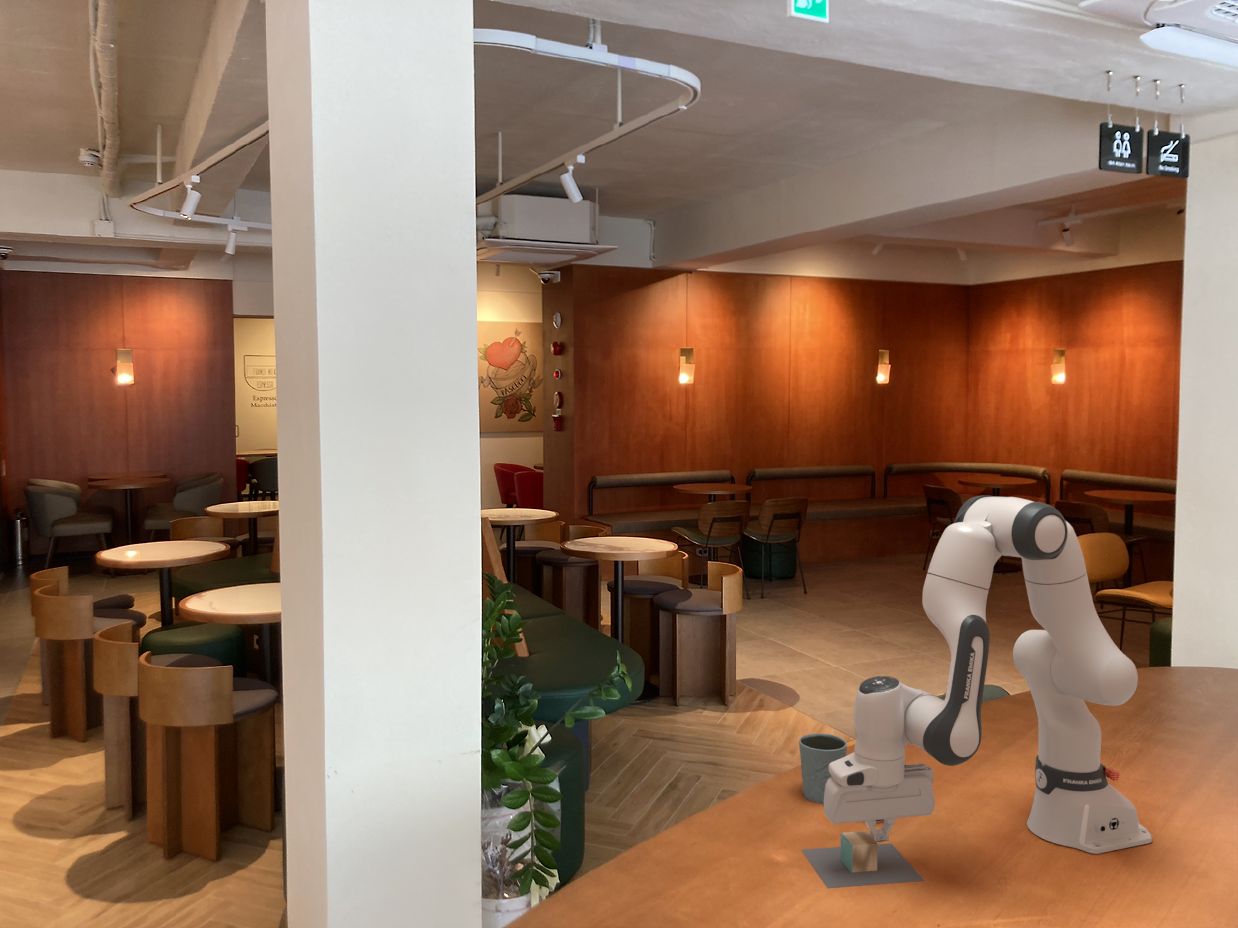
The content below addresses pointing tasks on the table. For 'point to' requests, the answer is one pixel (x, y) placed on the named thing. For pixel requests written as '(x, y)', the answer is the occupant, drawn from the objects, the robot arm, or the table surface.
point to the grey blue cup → (818, 762)
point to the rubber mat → (837, 874)
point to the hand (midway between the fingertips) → (879, 840)
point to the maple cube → (858, 851)
